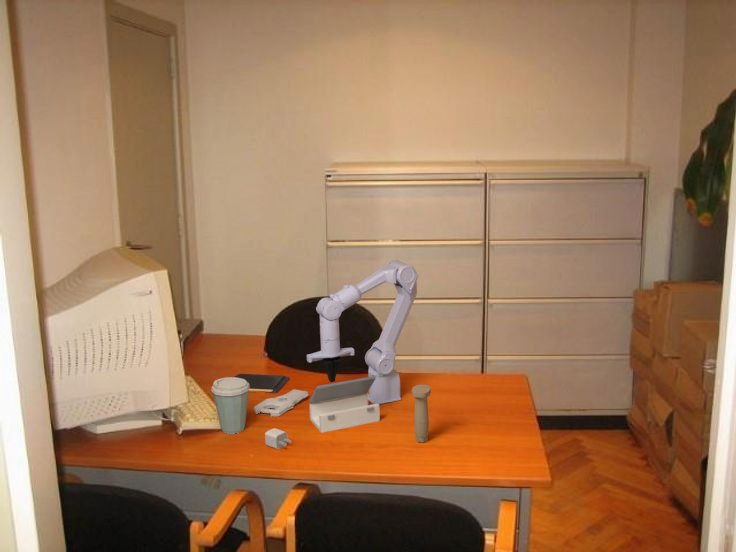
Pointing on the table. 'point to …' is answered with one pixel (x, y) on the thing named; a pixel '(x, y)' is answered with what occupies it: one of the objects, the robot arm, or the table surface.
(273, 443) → the usb wall charger
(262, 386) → the black notebook
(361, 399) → the open hinged case
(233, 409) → the disposable coffee cup
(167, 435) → the table surface
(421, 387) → the handle
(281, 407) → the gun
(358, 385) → the cover
